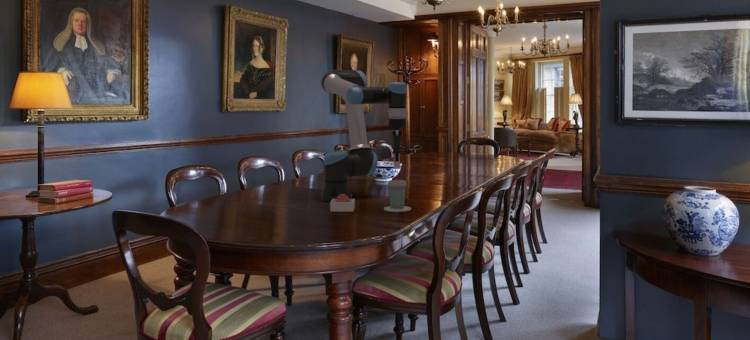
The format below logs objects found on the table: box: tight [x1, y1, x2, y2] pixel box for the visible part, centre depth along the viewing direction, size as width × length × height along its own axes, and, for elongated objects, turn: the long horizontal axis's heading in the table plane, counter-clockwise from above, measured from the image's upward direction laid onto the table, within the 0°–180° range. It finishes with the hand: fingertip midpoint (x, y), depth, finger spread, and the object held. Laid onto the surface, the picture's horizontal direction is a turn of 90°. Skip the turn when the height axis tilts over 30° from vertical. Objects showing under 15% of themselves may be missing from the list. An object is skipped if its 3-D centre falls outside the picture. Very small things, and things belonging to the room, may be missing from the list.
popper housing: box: [329, 198, 356, 213], centre depth 251 cm, size 10×10×4 cm
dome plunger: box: [334, 194, 352, 202], centre depth 251 cm, size 8×8×5 cm
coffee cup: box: [387, 179, 408, 209], centre depth 251 cm, size 9×8×12 cm
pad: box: [383, 205, 412, 213], centre depth 251 cm, size 12×12×1 cm
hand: (396, 166), depth 249 cm, fingers open, 13 cm apart
